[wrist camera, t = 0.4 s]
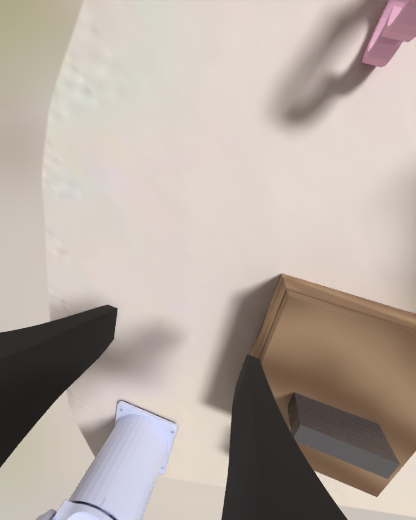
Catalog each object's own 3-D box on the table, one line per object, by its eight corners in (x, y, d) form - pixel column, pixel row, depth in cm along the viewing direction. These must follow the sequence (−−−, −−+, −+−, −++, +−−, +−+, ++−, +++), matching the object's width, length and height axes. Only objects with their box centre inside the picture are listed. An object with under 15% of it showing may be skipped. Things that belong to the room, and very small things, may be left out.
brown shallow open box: (352, 435, 21) (369, 477, 18) (236, 390, 23) (233, 421, 20) (431, 318, 17) (471, 346, 14) (281, 273, 19) (286, 288, 16)
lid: (370, 481, 18) (396, 544, 15) (232, 424, 20) (227, 469, 16) (475, 349, 14) (544, 396, 10) (287, 290, 15) (295, 314, 12)
